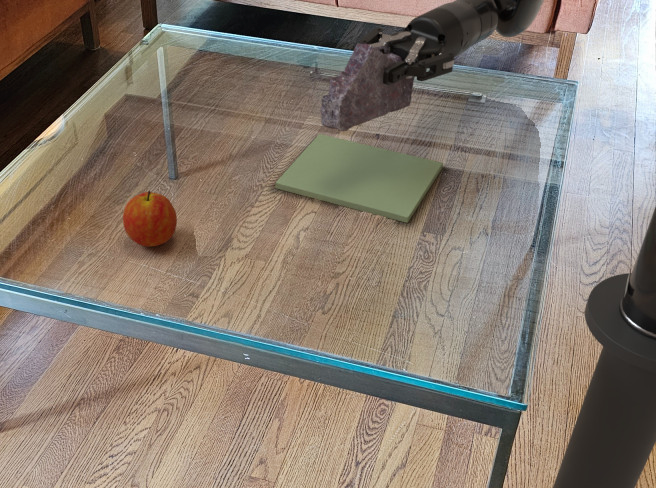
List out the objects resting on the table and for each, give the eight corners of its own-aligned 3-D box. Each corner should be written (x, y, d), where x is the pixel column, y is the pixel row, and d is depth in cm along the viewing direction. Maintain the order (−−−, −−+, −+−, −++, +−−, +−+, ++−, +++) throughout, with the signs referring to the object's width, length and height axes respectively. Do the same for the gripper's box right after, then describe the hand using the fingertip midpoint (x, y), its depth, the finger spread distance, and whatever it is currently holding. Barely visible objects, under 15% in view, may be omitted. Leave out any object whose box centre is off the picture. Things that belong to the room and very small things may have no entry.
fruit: (115, 243, 111) (107, 192, 106) (152, 220, 115) (147, 170, 110) (151, 264, 108) (146, 212, 102) (189, 239, 112) (185, 188, 106)
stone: (396, 19, 115) (315, 47, 108) (429, 36, 112) (348, 65, 104) (385, 89, 122) (308, 119, 115) (416, 106, 119) (339, 138, 111)
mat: (442, 168, 125) (443, 162, 125) (407, 223, 114) (408, 217, 114) (319, 139, 132) (319, 133, 132) (275, 188, 121) (275, 182, 121)
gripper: (405, -5, 123) (329, 29, 114) (489, 21, 115) (415, 60, 106) (400, 44, 128) (327, 81, 119) (481, 72, 120) (409, 114, 111)
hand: (369, 71), depth 112 cm, fingers closed on stone, 5 cm apart
